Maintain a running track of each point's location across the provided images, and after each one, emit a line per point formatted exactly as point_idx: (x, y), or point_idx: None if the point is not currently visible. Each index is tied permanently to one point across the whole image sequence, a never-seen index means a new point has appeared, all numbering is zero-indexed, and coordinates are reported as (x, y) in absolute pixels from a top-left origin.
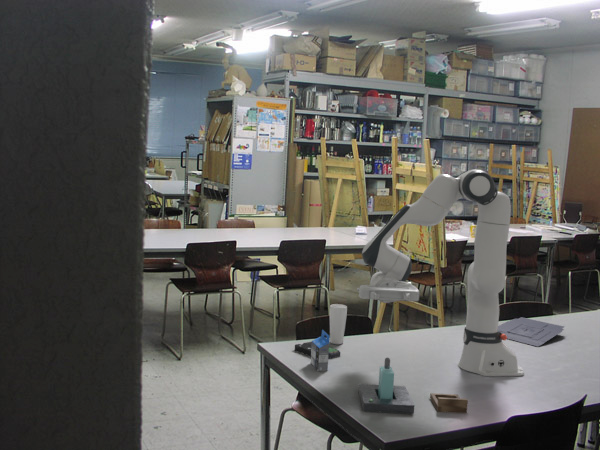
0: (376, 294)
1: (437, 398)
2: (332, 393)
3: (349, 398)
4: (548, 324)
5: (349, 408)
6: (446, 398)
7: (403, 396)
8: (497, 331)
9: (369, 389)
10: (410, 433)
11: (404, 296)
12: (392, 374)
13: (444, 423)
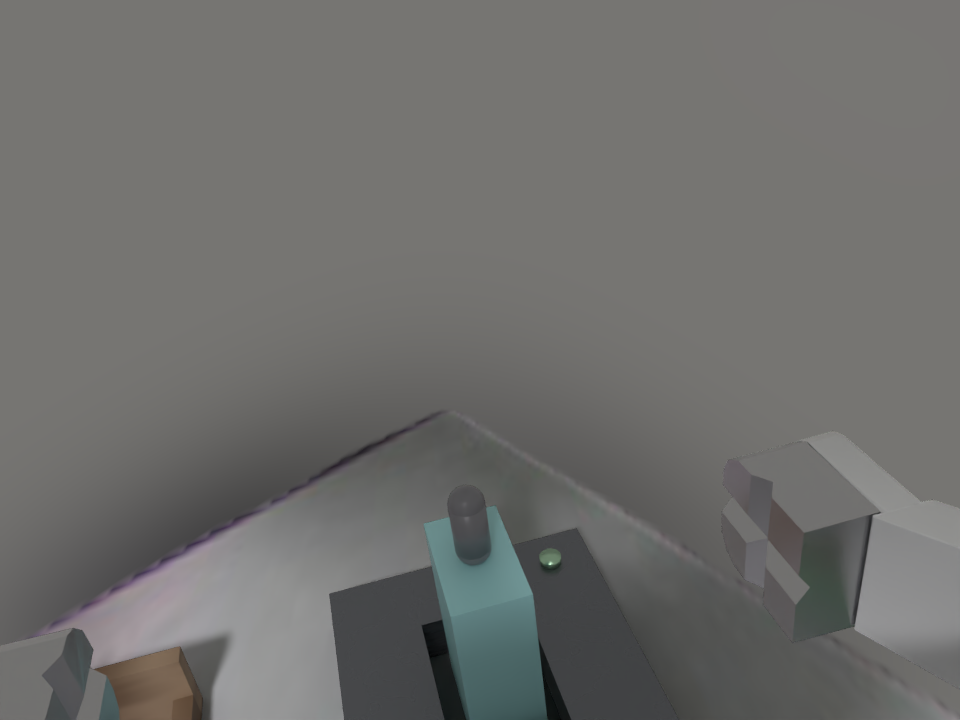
0: (807, 440)
1: None
2: (840, 703)
3: (708, 674)
4: None
5: (653, 564)
6: (132, 664)
7: (382, 681)
8: None
9: (603, 701)
10: (366, 474)
11: (57, 636)
12: (434, 525)
13: (208, 590)
